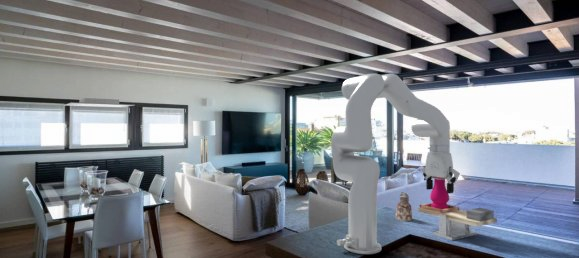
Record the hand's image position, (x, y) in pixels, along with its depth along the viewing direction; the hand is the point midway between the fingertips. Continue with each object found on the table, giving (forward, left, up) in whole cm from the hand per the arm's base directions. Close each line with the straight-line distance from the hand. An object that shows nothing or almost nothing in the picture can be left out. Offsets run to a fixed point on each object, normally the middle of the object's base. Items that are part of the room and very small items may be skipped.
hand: (439, 191), depth 135 cm
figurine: (0, +19, -16) cm, 25 cm away
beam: (0, -7, -9) cm, 11 cm away
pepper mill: (+1, +1, -7) cm, 8 cm away
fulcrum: (0, -7, -16) cm, 17 cm away
